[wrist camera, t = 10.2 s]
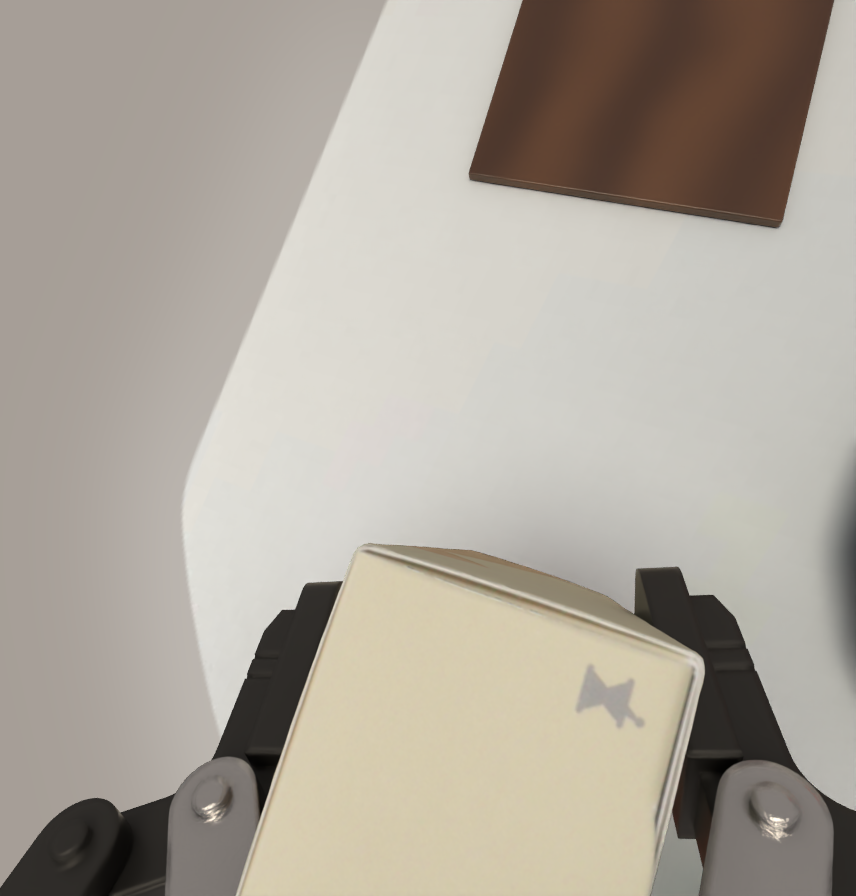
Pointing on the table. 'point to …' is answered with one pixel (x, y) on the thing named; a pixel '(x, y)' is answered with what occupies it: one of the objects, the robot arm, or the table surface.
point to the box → (476, 738)
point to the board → (657, 103)
